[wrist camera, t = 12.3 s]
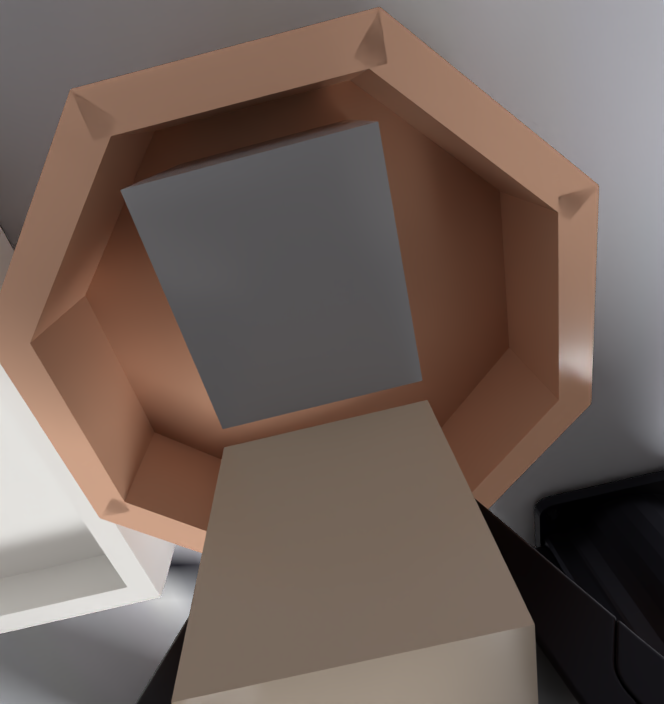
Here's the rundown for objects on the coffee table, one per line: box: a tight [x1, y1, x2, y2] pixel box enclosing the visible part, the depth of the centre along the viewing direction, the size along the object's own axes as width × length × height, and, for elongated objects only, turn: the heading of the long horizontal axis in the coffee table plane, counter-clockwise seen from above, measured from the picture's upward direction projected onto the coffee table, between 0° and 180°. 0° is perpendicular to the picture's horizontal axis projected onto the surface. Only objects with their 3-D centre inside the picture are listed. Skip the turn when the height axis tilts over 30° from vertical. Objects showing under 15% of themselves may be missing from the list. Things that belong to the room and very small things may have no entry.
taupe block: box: [171, 400, 538, 704], centre depth 8 cm, size 4×5×4 cm
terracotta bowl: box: [0, 7, 599, 553], centre depth 12 cm, size 13×13×4 cm
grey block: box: [120, 120, 422, 429], centre depth 10 cm, size 4×5×4 cm
